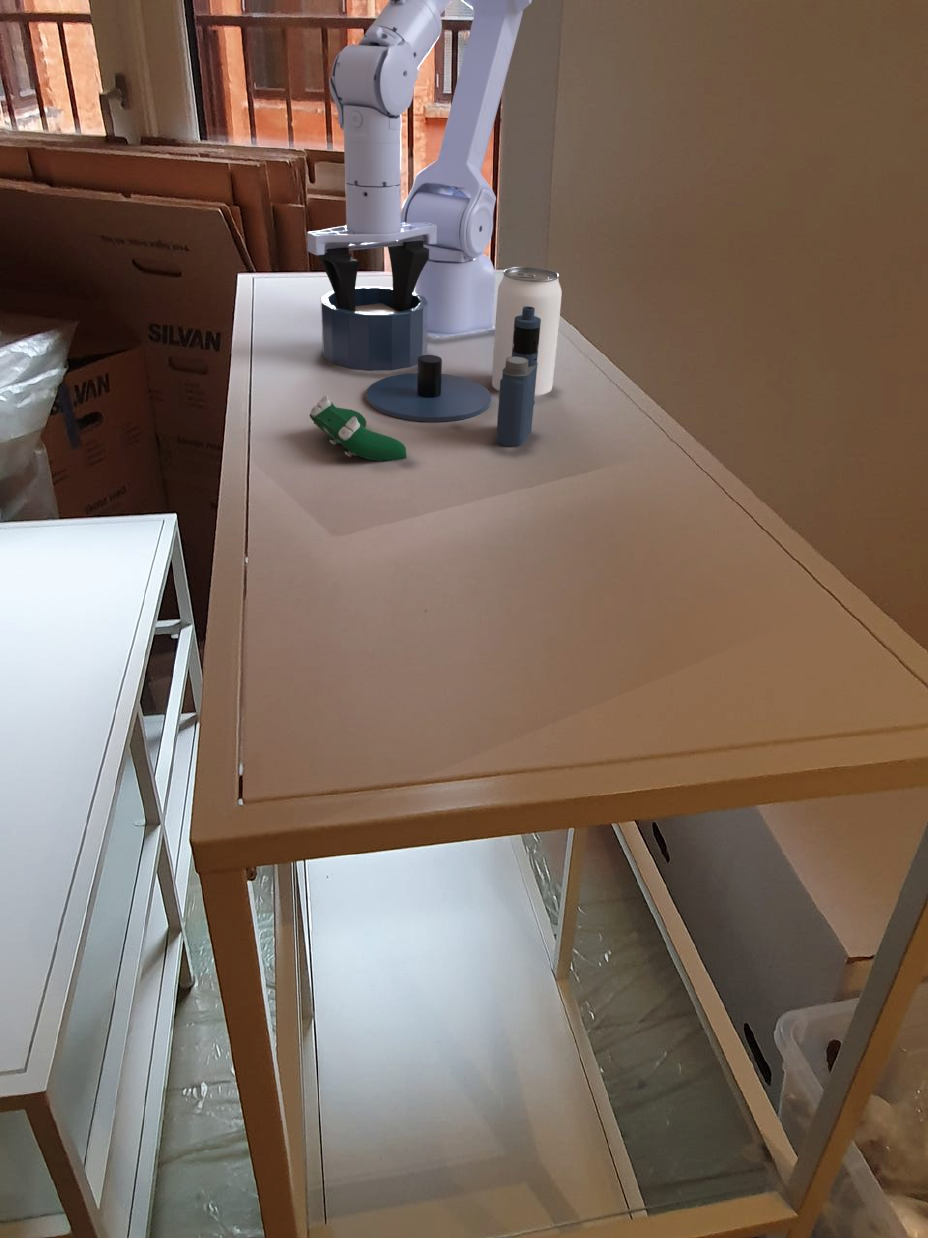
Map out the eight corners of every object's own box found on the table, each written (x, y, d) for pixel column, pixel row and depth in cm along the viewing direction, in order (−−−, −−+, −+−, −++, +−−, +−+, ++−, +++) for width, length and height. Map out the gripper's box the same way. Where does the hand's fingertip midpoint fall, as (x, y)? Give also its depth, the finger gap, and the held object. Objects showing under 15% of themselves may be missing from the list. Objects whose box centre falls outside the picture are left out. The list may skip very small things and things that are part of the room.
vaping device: (534, 434, 87) (546, 306, 81) (519, 454, 83) (530, 321, 76) (508, 429, 88) (518, 302, 81) (492, 449, 84) (501, 317, 77)
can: (547, 404, 94) (559, 283, 88) (486, 396, 95) (493, 277, 88) (555, 383, 99) (567, 268, 93) (496, 377, 100) (504, 262, 94)
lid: (447, 376, 100) (449, 332, 97) (515, 414, 91) (518, 368, 89) (344, 394, 94) (343, 348, 91) (406, 436, 85) (407, 388, 83)
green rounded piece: (339, 449, 87) (295, 415, 82) (364, 417, 86) (321, 381, 82) (387, 487, 80) (342, 451, 76) (414, 452, 80) (370, 415, 76)
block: (381, 346, 106) (381, 302, 103) (399, 356, 103) (399, 311, 100) (351, 351, 104) (350, 306, 101) (367, 361, 101) (367, 315, 99)
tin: (393, 337, 111) (394, 282, 107) (445, 366, 103) (447, 307, 99) (306, 350, 105) (303, 292, 101) (353, 381, 97) (351, 320, 94)
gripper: (413, 173, 100) (412, 300, 107) (291, 179, 93) (299, 315, 101) (448, 183, 95) (444, 316, 103) (322, 191, 88) (327, 332, 96)
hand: (374, 316), depth 101 cm, fingers open, 6 cm apart
